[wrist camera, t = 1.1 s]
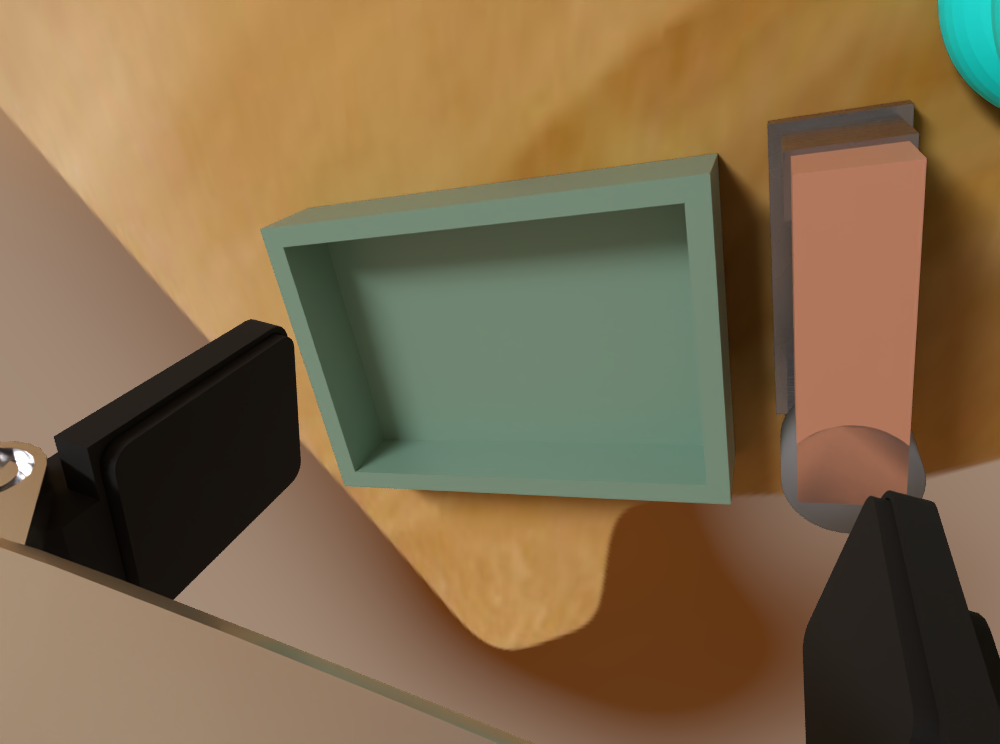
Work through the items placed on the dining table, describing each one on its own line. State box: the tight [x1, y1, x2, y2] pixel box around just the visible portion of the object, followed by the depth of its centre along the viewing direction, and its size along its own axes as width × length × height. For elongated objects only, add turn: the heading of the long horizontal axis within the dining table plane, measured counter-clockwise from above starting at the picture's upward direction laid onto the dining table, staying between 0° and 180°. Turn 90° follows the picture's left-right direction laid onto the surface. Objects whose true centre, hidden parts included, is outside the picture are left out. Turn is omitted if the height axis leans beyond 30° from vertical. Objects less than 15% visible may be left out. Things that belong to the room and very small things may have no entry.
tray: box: [260, 153, 735, 504], centre depth 35 cm, size 21×15×4 cm
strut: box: [781, 141, 927, 533], centre depth 24 cm, size 13×5×3 cm, turn 11°
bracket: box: [768, 100, 919, 414], centre depth 28 cm, size 13×5×6 cm, turn 11°
